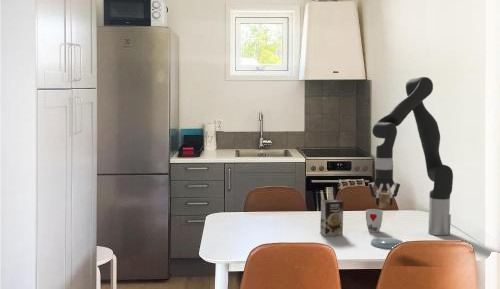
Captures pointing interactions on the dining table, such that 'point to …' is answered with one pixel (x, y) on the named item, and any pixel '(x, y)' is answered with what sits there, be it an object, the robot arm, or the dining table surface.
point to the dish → (385, 242)
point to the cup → (374, 219)
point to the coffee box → (331, 217)
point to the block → (384, 200)
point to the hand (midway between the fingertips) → (383, 205)
